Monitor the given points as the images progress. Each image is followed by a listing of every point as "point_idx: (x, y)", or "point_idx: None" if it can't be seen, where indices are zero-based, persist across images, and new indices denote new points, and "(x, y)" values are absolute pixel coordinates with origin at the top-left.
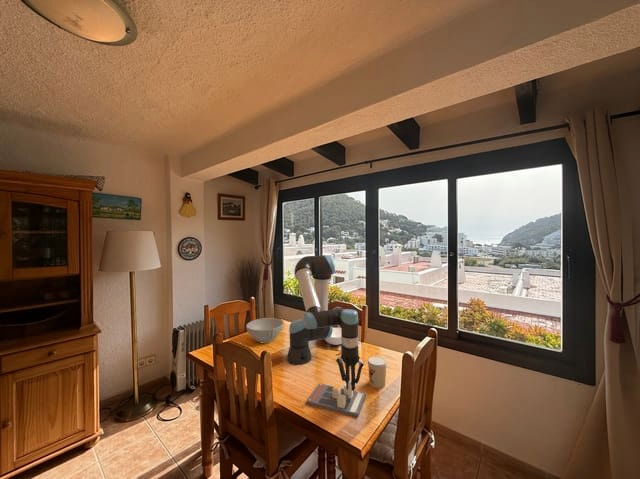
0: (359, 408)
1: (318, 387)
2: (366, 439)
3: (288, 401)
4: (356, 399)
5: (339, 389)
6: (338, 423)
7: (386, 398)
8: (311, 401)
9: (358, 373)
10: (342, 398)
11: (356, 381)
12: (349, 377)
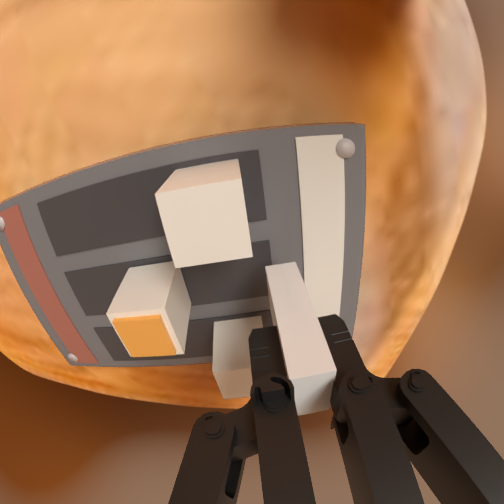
0: (353, 303)
1: (12, 252)
2: (384, 376)
3: (28, 357)
4: (314, 238)
5: (176, 334)
6: None
7: (460, 98)
8: (87, 362)
9: (452, 493)
10: None
11: (399, 423)
12: (300, 435)
